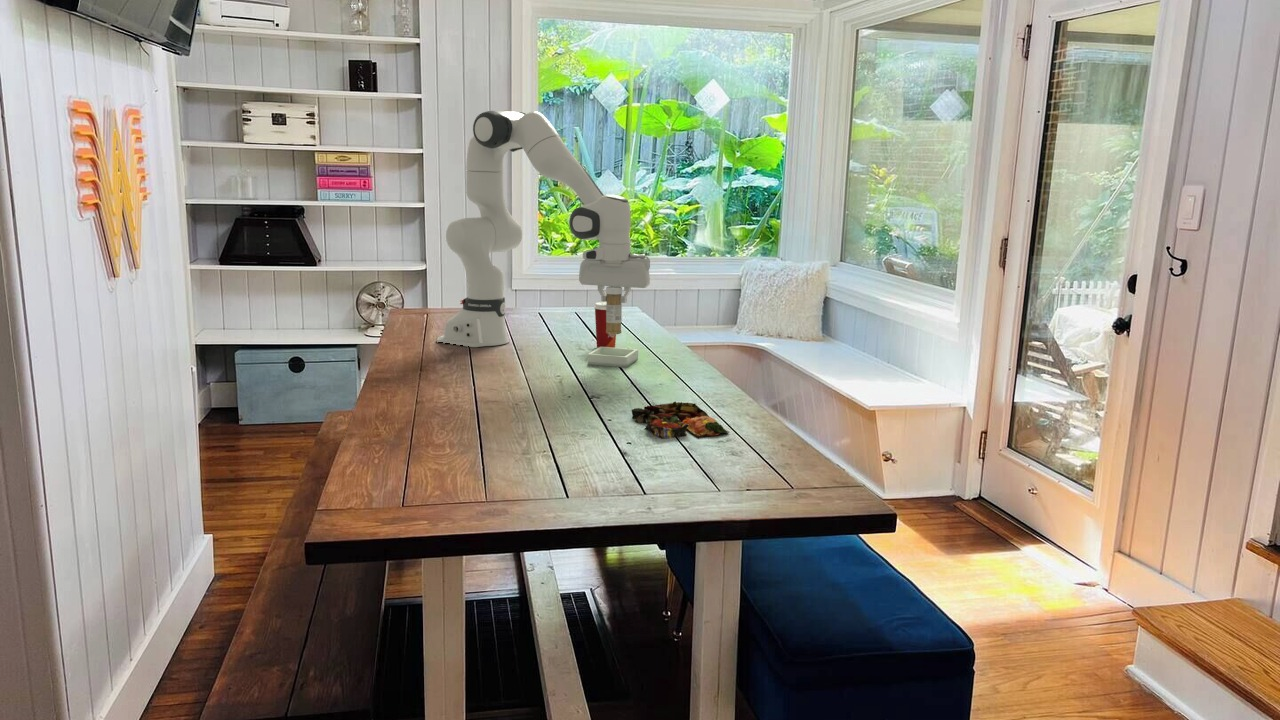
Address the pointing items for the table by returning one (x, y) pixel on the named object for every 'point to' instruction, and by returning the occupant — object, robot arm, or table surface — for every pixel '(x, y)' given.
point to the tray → (613, 357)
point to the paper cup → (603, 327)
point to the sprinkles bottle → (613, 310)
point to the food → (677, 420)
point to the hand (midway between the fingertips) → (614, 301)
